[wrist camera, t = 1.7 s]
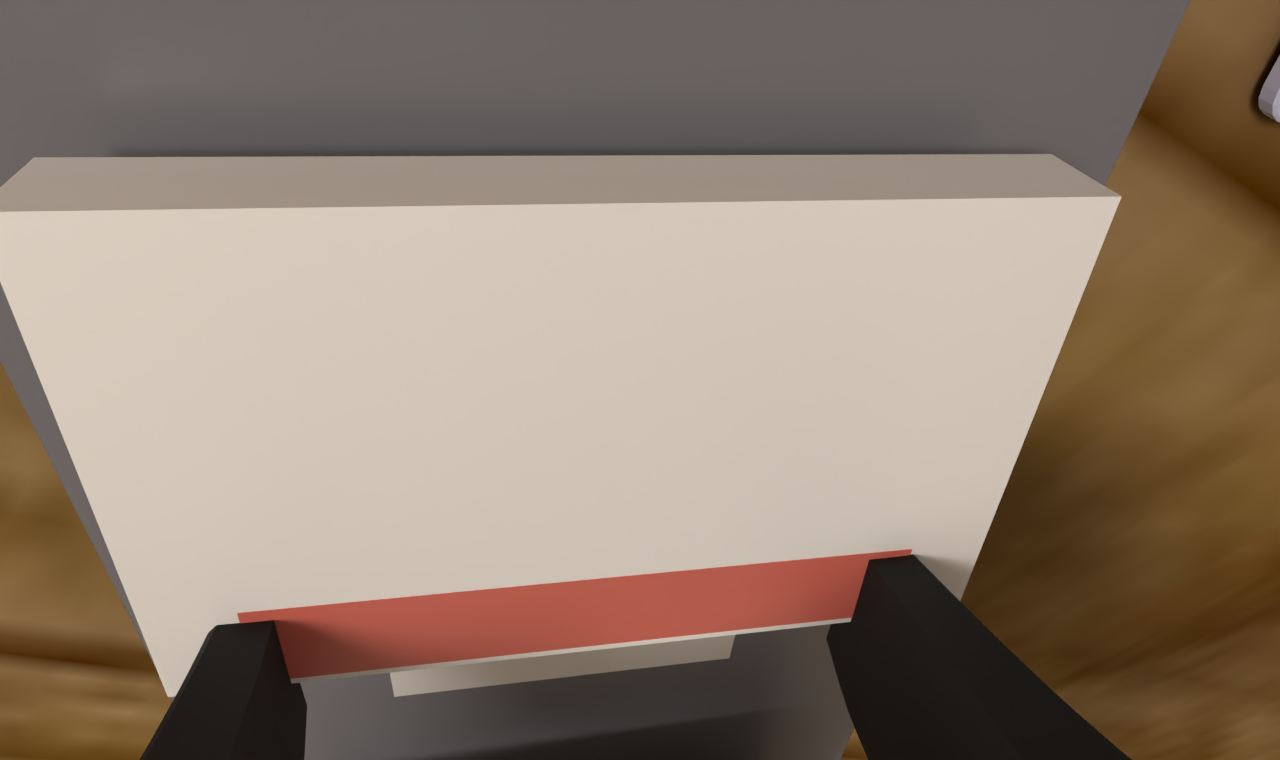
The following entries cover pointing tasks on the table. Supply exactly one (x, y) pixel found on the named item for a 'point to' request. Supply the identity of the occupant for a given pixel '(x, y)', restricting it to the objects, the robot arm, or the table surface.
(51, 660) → the table surface
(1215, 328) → the table surface
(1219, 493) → the table surface
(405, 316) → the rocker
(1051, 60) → the rocker switch panel
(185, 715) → the robot arm
